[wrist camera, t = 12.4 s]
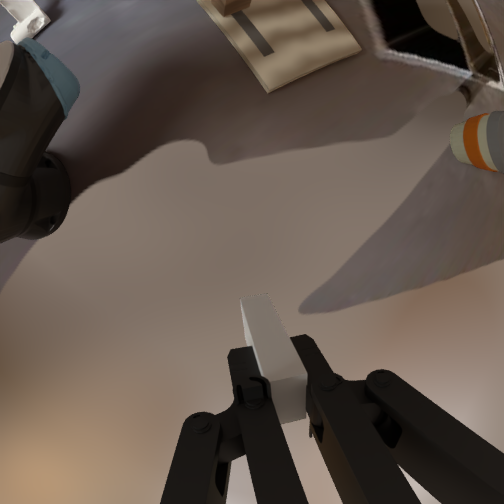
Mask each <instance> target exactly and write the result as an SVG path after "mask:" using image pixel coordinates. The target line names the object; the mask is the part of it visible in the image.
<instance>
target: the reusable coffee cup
mask: <svg viewBox="0 0 504 504" xmlns="http://www.w3.org/2000/svg"><path fill="white" fill-rule="evenodd" d="M450 144H451V149H452V151H453V154H454V155H455V157H456V158H457V159H458V160H459V161H460V162H462V163H466V164H471V165H474V166H475V167H477V168H480V169H484V170H489V171H493V172H497V171H499V172H501V173H503V174H504V111H493V112H492V113H491V114H487V113H485V114H481V115H478V116H475V117H472V118H469V119H468V120H467V121H465V122H462V123H459V124H456V125H454V126H453V128H452V130H451V133H450Z"/></svg>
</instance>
